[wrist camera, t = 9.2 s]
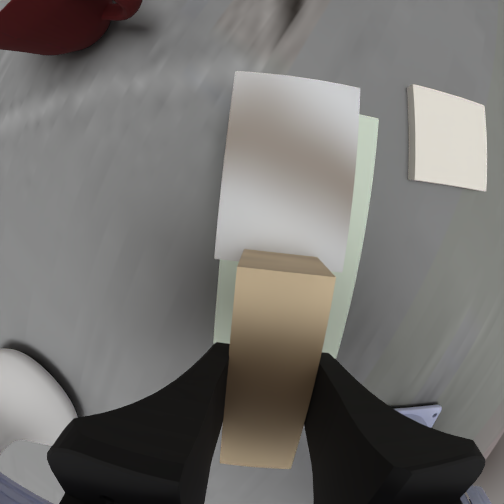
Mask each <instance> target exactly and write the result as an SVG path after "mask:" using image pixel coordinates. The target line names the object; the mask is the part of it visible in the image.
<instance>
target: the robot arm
mask: <svg viewBox="0 0 504 504" xmlns="http://www.w3.org/2000/svg"><path fill="white" fill-rule="evenodd" d="M229 346H230V344H228V343H220V342H216V343H215V344H213V345H212V347H211V348H210V349H209V350H208V351H207V352H206V353H205V354H204V355H203V356H202V358H201V359H200V360H198V361H197V362H196V363H195V364H194V365H193V366H192V367H191V368H190V369H189V370H187V371H186V372H185V373H184V374H182V375H181V376H180V377H179V378H177V379H176V380H175V381H173V382H172V383H170V384H169V385H167V386H166V387H164V388H163V389H161V390H159V391H158V392H156V393H154V394H152V395H150V396H148V397H146V398H144V399H142V400H139V401H137V402H135V403H133V404H130V405H127V406H124V407H122V408H118V409H115V410H112V411H108V412H105V413H100V414H95V415H90V416H85V417H79V418H73V420H72V421H71V422H70V423H69V424H68V425H67V426H66V427H65V429H64V430H63V431H62V433H61V434H60V435H59V437H58V438H57V440H56V441H55V442H54V444H53V445H52V447H51V448H50V450H49V451H48V453H47V460H48V463H49V465H50V468H51V470H52V472H53V473H54V475H55V477H56V478H57V480H58V482H59V483H60V485H61V486H62V488H63V490H64V491H65V494H64V496H63V498H62V500H61V502H60V503H59V504H204V501H205V495H206V489H207V483H208V477H209V472H210V466H211V461H212V457H213V454H214V450H215V447H216V443H217V440H218V437H219V433H220V430H221V426H222V423H223V417H224V406H225V396H226V386H227V375H228V365H229ZM441 409H442V407H441V406H440V405H430V406H420V407H409V408H396V409H393V408H391V407H390V406H388V405H387V404H385V403H384V402H382V401H381V400H380V399H378V398H377V397H376V396H375V395H373V394H372V393H371V392H370V391H368V390H367V389H366V388H365V387H364V386H363V385H361V384H360V383H359V382H358V381H357V380H356V379H355V378H354V377H353V376H352V375H351V374H350V373H349V372H348V371H347V370H346V369H345V368H344V367H343V366H342V365H341V364H340V363H339V362H338V361H337V360H336V359H335V358H334V357H333V356H332V355H330V354H329V353H324V352H322V353H321V358H320V362H319V366H318V371H317V375H316V379H315V383H314V387H313V392H312V396H311V399H310V403H309V407H308V411H307V415H306V418H305V422H304V426H305V431H306V436H307V442H308V447H309V452H310V458H311V463H312V471H313V491H314V504H470V503H469V501H468V499H467V497H466V495H465V492H467V493H468V496H469V498H470V499H469V500H470V502H471V504H491V502H490V500H489V498H488V497H487V495H486V493H485V492H484V490H483V489H482V487H481V486H475V487H474V486H473V485H472V484H473V483H474V482H475V481H476V480H477V478H478V477H479V475H480V474H481V472H482V470H483V468H484V466H485V458H484V457H483V455H482V454H481V452H480V450H479V449H478V447H477V446H476V444H475V442H474V441H473V440H470V439H466V438H462V437H458V436H454V435H450V434H447V433H444V432H441V431H438V430H435V429H433V428H431V427H432V426H433V424H434V422H435V421H436V419H437V417H438V415H439V413H440V412H441ZM0 504H53V503H51V502H49V501H47V500H45V499H43V498H41V497H40V496H38V495H36V494H34V493H33V492H31V491H29V490H27V489H26V488H24V487H22V486H21V485H19V484H17V483H16V482H14V481H13V480H11V479H10V478H8V477H7V476H5V475H4V474H2V473H1V472H0Z"/></svg>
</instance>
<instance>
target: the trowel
mask: <svg viewBox="0 0 504 504" xmlns="http://www.w3.org/2000/svg"><path fill="white" fill-rule="evenodd" d="M359 107H360V88H357V87H352V86H348V85H343V84H337V83H332V82H327V81H321V80H315V79H308V78H301V77H294V76H286V75H278V74H268V73H257V72H243V71H235V78H234V85H233V93H232V100H231V108H230V115H229V123H228V131H227V139H226V148H225V156H224V165H223V174H222V183H221V193H220V202H219V212H218V223H217V233H216V244H215V256H214V259H222V260H230V261H239V263H238V266H237V272H236V283H235V293H234V303H233V314H232V325H231V335H230V346H229V365H228V375H227V386H226V396H225V406H224V417H223V428H222V440H221V453H220V463H222V464H230V465H238V466H249V467H261V468H278V469H291V466H292V463H293V460H294V456H295V453H296V450H297V446H298V443H299V440H300V436H301V433H302V429H303V426H304V422H305V418H306V415H307V411H308V407H309V403H310V399H311V396H312V392H313V387H314V383H315V379H316V375H317V371H318V366H319V362H320V358H321V353H322V349H323V344H324V339H325V334H326V329H327V324H328V319H329V314H330V309H331V304H332V298H333V292H334V287H335V281H336V277H335V276H334V274H333V273H332V272H341V273H342V272H343V266H344V259H345V253H346V246H347V239H348V232H349V224H350V216H351V208H352V199H353V190H354V180H355V169H356V157H357V144H358V128H359Z"/></svg>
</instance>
